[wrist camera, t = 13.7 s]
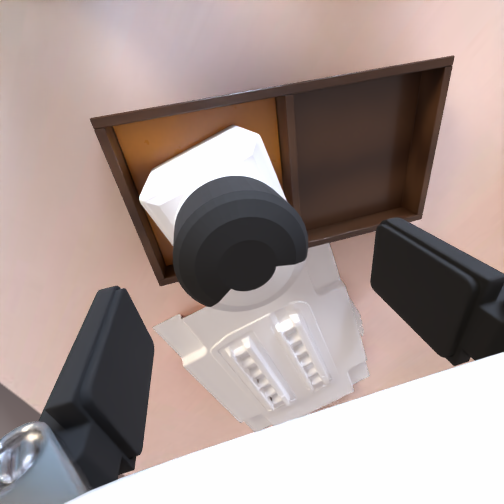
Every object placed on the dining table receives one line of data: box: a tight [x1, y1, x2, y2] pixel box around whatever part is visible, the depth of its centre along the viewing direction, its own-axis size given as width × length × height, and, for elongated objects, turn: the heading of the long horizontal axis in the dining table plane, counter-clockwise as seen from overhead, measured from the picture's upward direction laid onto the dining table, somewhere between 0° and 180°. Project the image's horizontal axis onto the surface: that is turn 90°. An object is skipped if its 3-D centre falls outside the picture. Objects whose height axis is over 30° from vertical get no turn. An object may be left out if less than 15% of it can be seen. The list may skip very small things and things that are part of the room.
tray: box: [152, 243, 370, 432], centre depth 33 cm, size 20×28×4 cm
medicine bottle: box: [139, 125, 308, 312], centre depth 16 cm, size 7×7×12 cm
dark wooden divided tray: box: [90, 56, 454, 286], centre depth 21 cm, size 13×25×3 cm, turn 98°
